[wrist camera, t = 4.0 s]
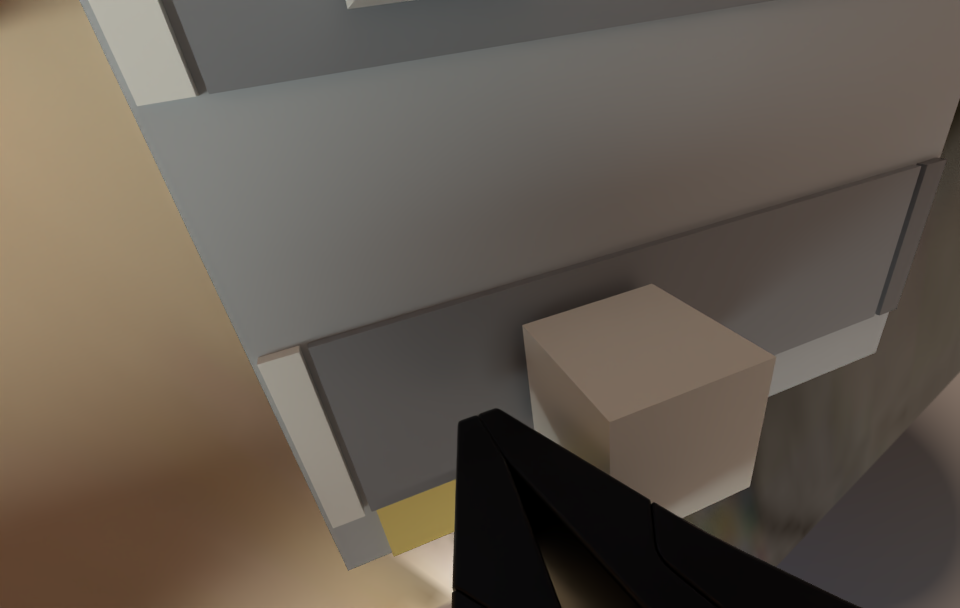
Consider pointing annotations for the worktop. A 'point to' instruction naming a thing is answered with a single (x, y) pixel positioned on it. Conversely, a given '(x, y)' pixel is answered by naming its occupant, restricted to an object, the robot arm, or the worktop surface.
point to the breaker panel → (525, 196)
